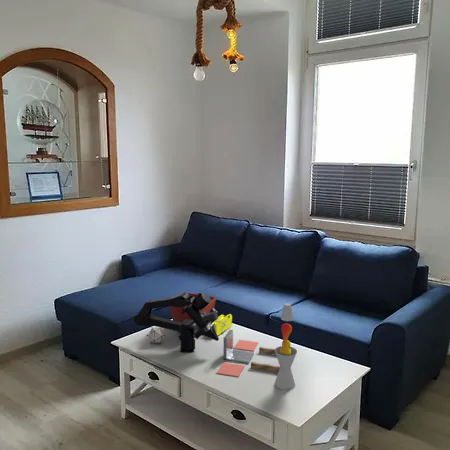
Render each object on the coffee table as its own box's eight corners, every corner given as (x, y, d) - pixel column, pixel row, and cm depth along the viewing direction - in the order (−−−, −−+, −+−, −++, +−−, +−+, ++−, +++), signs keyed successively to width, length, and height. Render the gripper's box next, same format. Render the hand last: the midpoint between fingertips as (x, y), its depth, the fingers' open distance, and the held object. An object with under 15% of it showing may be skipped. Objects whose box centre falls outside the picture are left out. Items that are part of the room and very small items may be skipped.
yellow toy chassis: (217, 337, 240) (217, 322, 239) (207, 335, 243) (207, 320, 241) (232, 327, 254) (232, 312, 252) (223, 325, 256) (223, 310, 255)
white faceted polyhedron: (159, 348, 235) (170, 331, 236) (155, 349, 227) (167, 332, 228) (145, 338, 237) (156, 321, 238) (140, 339, 229) (152, 322, 230)
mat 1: (216, 373, 203) (216, 372, 203) (223, 363, 212) (223, 362, 212) (238, 377, 200) (238, 376, 200) (244, 366, 209) (244, 365, 209)
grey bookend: (223, 360, 215) (223, 337, 213) (229, 351, 225) (229, 329, 223) (248, 364, 212) (248, 341, 210) (253, 354, 221) (254, 332, 219)
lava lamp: (295, 390, 189) (298, 309, 183) (273, 388, 191) (275, 307, 184) (295, 379, 198) (298, 301, 192) (274, 377, 199) (276, 300, 193)
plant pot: (216, 326, 254) (216, 297, 251) (200, 339, 237) (200, 308, 234) (185, 320, 262) (185, 292, 259) (168, 333, 245) (167, 302, 242)
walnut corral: (250, 368, 208) (250, 363, 207) (259, 351, 224) (259, 346, 224) (283, 373, 203) (283, 368, 203) (290, 356, 220) (290, 351, 219)
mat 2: (233, 348, 227) (233, 347, 227) (239, 340, 237) (239, 339, 237) (253, 351, 224) (253, 350, 224) (258, 343, 234) (258, 342, 234)
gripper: (200, 312, 210) (223, 338, 209) (214, 298, 227) (235, 323, 226) (184, 326, 214) (207, 352, 212) (199, 312, 231) (219, 336, 230)
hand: (218, 340), depth 220 cm, fingers closed
